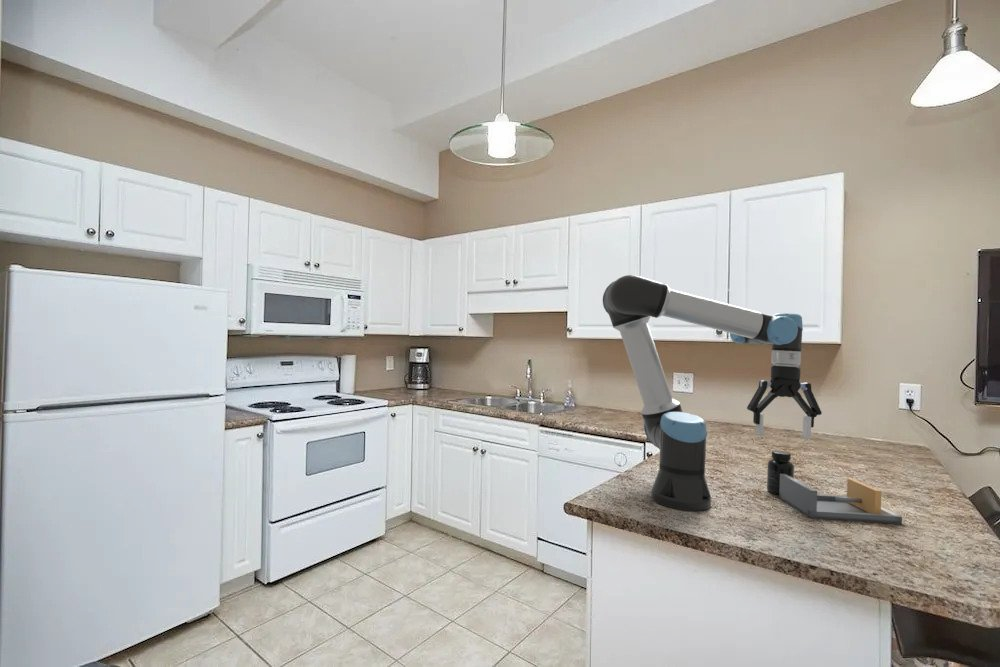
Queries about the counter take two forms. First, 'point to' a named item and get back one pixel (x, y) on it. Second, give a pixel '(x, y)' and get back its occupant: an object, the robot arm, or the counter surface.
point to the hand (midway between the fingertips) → (782, 436)
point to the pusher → (862, 496)
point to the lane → (827, 504)
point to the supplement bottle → (778, 470)
